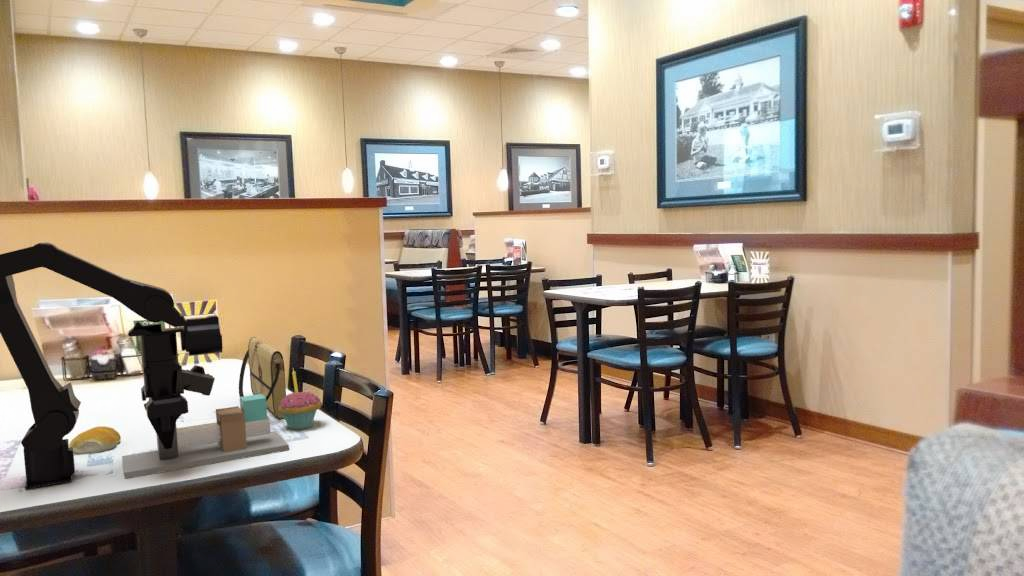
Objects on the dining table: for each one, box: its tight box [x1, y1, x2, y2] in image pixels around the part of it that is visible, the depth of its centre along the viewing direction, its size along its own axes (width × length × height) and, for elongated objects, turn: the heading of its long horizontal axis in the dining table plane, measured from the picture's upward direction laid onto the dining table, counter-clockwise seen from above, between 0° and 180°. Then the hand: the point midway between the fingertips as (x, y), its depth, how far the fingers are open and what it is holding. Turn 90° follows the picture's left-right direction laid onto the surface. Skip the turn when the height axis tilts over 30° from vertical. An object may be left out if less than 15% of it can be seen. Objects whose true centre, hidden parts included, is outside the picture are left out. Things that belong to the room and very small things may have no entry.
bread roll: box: [69, 426, 122, 455], centre depth 145 cm, size 8×9×4 cm
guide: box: [121, 406, 290, 479], centre depth 136 cm, size 27×11×8 cm, turn 119°
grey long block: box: [155, 415, 271, 459], centre depth 137 cm, size 19×4×7 cm, turn 119°
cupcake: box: [278, 367, 322, 430], centre depth 154 cm, size 9×8×12 cm
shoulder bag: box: [238, 336, 287, 420], centre depth 170 cm, size 30×7×15 cm, turn 29°
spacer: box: [239, 394, 268, 422], centre depth 140 cm, size 4×4×4 cm
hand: (167, 445), depth 133 cm, fingers closed on grey long block, 4 cm apart
